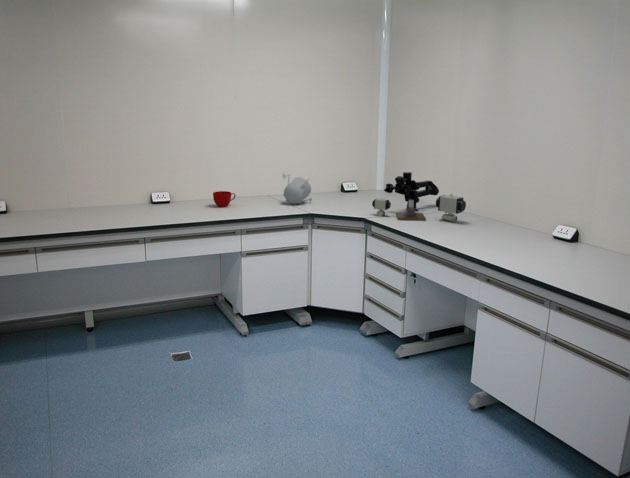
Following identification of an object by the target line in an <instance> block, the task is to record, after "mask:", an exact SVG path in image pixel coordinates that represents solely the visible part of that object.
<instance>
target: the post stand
mask: <svg viewBox="0 0 630 478" xmlns="http://www.w3.org/2000/svg"><path fill="white" fill-rule="evenodd" d="M405 209H406V210H405V211H406V212H395V216H396V219H397V221H413V222H414V221H418V222H419V221H420V222H421V221H422V222H426V221H427V218H426V216H425V214H424V213H423V212H416V211H415V207H413V208H408V207H407V206H406V208H405Z"/></svg>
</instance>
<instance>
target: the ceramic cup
mask: <svg viewBox="0 0 630 478" xmlns="http://www.w3.org/2000/svg"><path fill="white" fill-rule="evenodd" d="M212 196H213V197H212V199H213V202H214V203H215V205H216V206H217V207H218V208H226V206H227V207H228V206H229V204H230V203H231V202H232V201H233V200H235V198H236V194H235V193H234V192H233V193H232V192H231V191H227V190H226V191H225V190H220V191H218V190H217V191H214V192H212ZM232 196H233V198H232Z"/></svg>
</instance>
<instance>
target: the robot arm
mask: <svg viewBox="0 0 630 478" xmlns="http://www.w3.org/2000/svg"><path fill="white" fill-rule="evenodd" d="M412 173H413V172H410V171H409V172H408V171H407V172H406V171H404V172H403V173H402V176H400V175H398V176H396V177H395V178H394V180H395V184H394V185H393V184H392V183H386V184H385V188H384V189H383V191H384V192H385V193H388V194H393V192H394V193H396V194H398V195H403V196H404V201H405V202H407V204H406V208H407V207H408V206H409V200H414V207H415V212H417V211H418V209H417V204H418V203H419V202H420V198H422V197H426V196H438V194H439V193H440V189H439V187H438V186H437V185H436V184H435V183H434V182H433V181H432V180H425V181H416V180H412V176H413V175H412ZM422 188H424V189H422ZM420 189H421V190H420ZM406 208H405V211H406Z"/></svg>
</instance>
